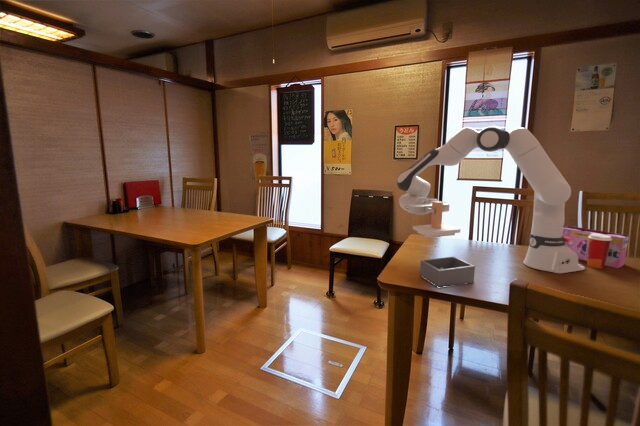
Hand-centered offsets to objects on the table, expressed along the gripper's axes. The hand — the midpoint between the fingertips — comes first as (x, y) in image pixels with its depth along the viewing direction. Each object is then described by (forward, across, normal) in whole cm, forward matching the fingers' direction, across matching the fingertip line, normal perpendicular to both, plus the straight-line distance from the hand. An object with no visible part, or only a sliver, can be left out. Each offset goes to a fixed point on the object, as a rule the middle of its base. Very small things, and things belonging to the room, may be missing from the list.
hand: (438, 210), depth 142 cm
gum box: (+20, +69, +24) cm, 76 cm away
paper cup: (+27, +62, +24) cm, 72 cm away
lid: (-1, 0, +11) cm, 11 cm away
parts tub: (+20, -9, +24) cm, 32 cm away
